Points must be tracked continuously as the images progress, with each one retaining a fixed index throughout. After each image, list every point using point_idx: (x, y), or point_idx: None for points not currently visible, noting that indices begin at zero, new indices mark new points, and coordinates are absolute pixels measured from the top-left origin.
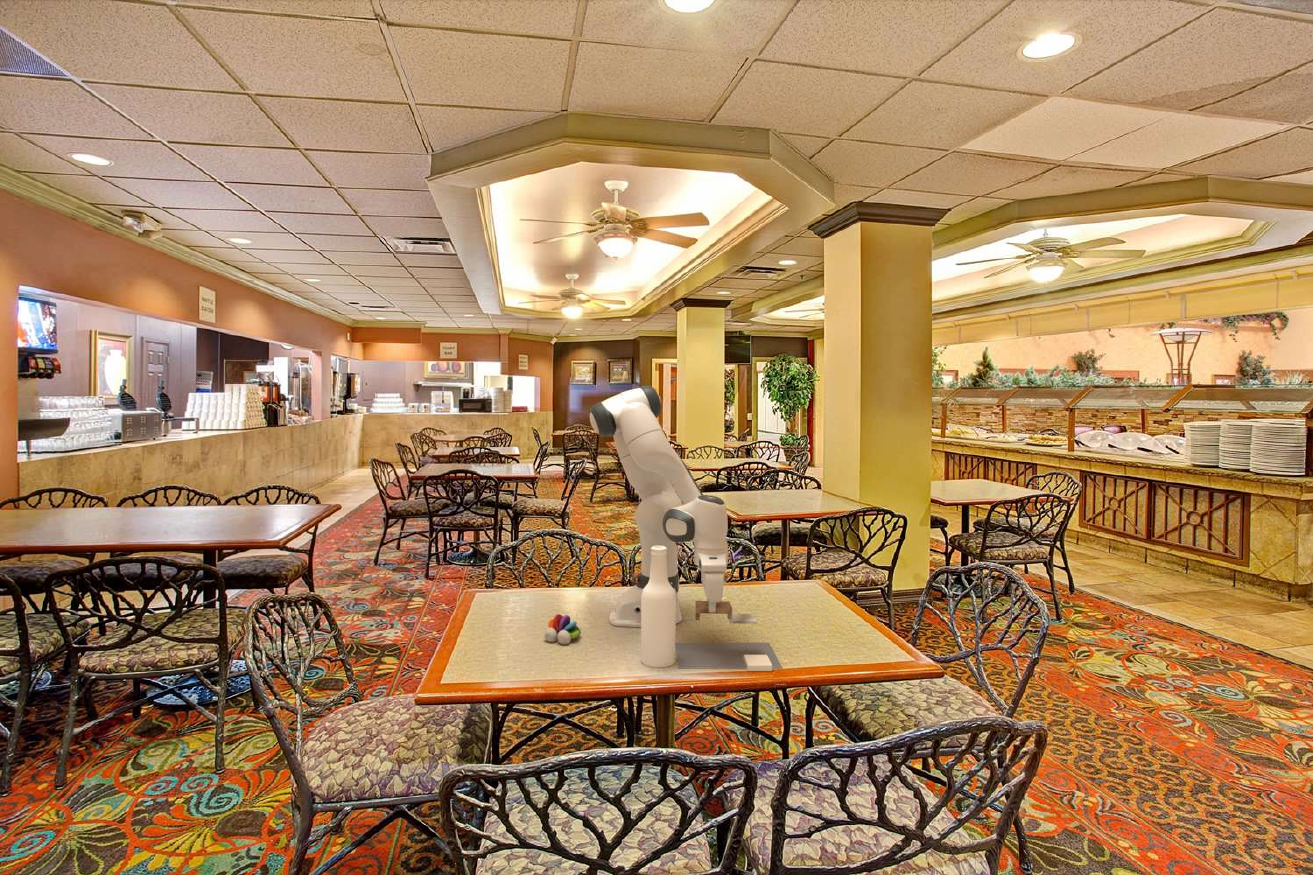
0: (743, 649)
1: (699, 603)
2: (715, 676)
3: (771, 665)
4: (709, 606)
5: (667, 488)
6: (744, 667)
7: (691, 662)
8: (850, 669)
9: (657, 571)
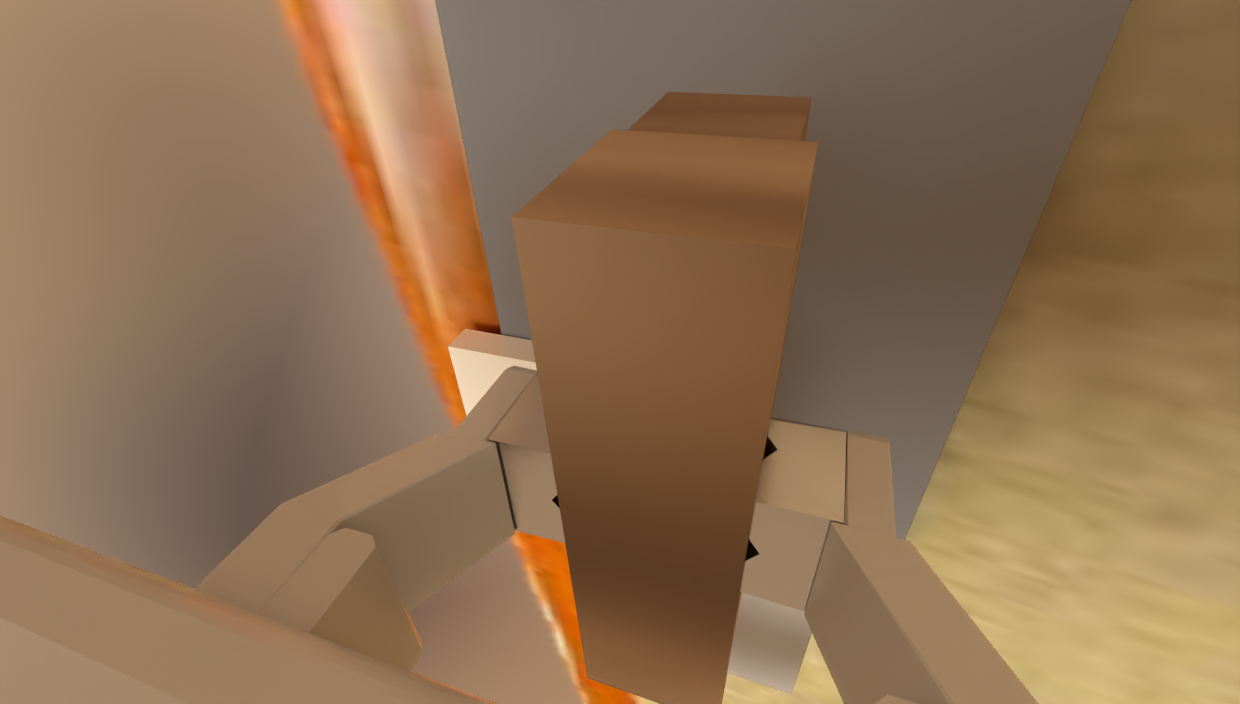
0: (801, 407)
1: (529, 298)
2: (398, 134)
3: None
4: (467, 430)
5: None
6: (515, 327)
7: None
8: (578, 632)
9: None
